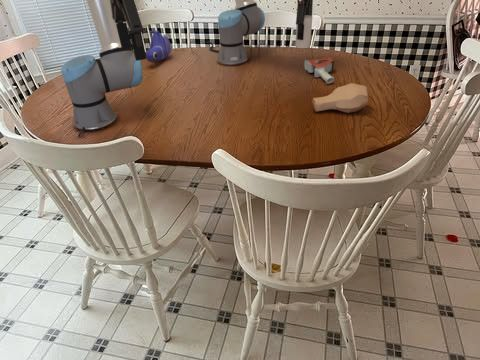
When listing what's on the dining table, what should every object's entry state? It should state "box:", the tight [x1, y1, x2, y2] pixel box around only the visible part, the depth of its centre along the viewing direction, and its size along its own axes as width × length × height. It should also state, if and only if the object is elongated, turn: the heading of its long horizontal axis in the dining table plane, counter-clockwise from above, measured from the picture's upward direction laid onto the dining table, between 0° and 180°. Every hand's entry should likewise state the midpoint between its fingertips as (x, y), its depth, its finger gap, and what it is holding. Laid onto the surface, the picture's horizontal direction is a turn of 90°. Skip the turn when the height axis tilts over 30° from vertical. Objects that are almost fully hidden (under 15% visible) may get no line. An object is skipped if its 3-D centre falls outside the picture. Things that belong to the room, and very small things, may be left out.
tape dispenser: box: [304, 56, 335, 85], centre depth 159 cm, size 18×5×20 cm
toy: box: [145, 30, 172, 67], centre depth 185 cm, size 10×17×25 cm
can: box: [294, 15, 313, 49], centre depth 162 cm, size 7×7×13 cm
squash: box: [312, 82, 369, 113], centre depth 129 cm, size 11×20×9 cm, turn 92°
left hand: (133, 53), depth 97 cm, fingers open, 13 cm apart
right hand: (303, 37), depth 164 cm, fingers closed on can, 7 cm apart
